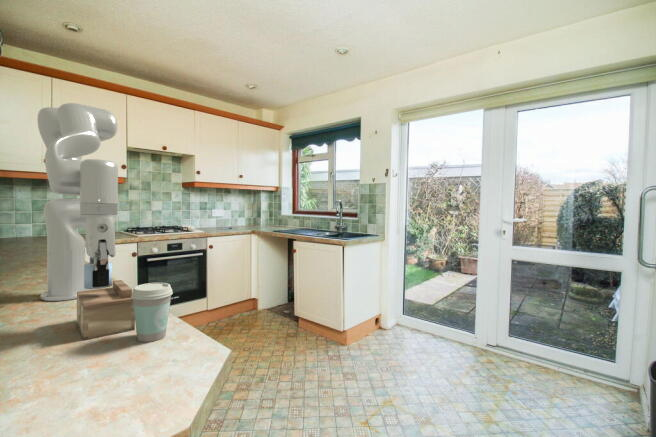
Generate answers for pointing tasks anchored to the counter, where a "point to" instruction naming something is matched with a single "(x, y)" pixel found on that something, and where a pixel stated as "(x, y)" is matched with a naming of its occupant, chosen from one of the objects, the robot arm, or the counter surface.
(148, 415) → the counter surface
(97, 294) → the lid
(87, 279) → the pale blue rounded block
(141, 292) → the coffee cup
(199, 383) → the counter surface
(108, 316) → the crate
